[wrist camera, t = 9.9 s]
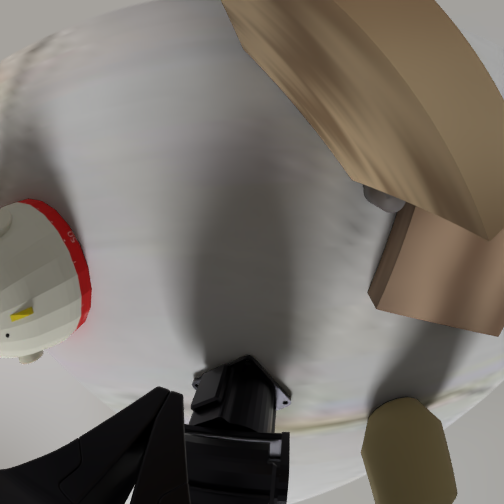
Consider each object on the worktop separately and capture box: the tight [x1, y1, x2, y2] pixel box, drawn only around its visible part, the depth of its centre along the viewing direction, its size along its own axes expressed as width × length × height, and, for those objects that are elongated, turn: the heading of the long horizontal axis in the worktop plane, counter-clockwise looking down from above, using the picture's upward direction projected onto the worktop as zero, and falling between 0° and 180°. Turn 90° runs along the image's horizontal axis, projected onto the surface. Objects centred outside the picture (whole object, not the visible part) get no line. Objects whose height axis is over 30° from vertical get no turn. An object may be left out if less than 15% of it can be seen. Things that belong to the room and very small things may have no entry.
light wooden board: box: [221, 0, 504, 242], centre depth 10 cm, size 13×2×14 cm, turn 39°
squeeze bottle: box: [361, 397, 457, 504], centre depth 15 cm, size 8×8×18 cm
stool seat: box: [368, 202, 504, 337], centre depth 17 cm, size 13×14×2 cm
